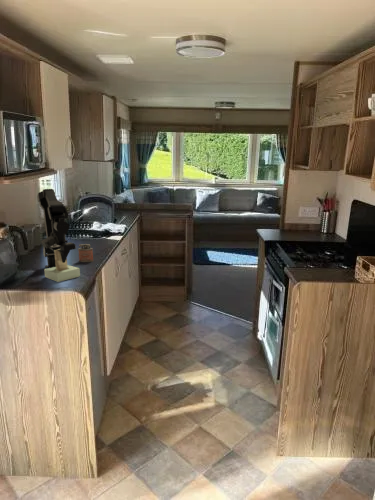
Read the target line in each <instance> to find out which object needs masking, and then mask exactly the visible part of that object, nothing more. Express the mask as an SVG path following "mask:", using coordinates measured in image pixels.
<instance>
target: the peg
mask: <svg viewBox="0 0 375 500" xmlns="http://www.w3.org/2000/svg"><path fill="white" fill-rule="evenodd" d="M58 250H59V249H57V250H54V253H55V264H56V270H58V271H62V270H66V269H68V266H67V265H68V257H67V258H66V261H65V263H63V262H62V258H61V253H60V252H59V251H58Z"/></svg>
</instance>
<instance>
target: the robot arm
mask: <svg viewBox="0 0 375 500" xmlns="http://www.w3.org/2000/svg"><path fill="white" fill-rule="evenodd" d="M37 203H38V205H39V207H40V209H42V211H43V217H44V227H45V233H46V238H44V239H42V240H41V241H40V243H41V244H42V246H43V251H42V252H43V253H42V254H43V257H44V258H46V261H47V265H44V267H46V268H47V269H48V268H52V267H56V264H55V253H54V250H57V249H59V250H58V251H59V252H60V253H61V258H62V262H63V263H65V261H66V258H67V259H68V257H69V256H68V255H69V254H70V251H71V250H72V251H73V250H76V249H77V247H76V244H75V243H73V242H70V241H69V242H68V239H66V235H67V234H68V232H69V230H70V225H69V223H68V222H67V221H65V219H69V212H68V210H67V207H66V206H65V205H64V203H63V202H61V201H59V200H58V198H57V196H56V192H55V189H53V188H44V189H42V190H41V191H40V192H38V193H37Z"/></svg>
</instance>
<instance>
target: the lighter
mask: <svg viewBox="0 0 375 500" xmlns="http://www.w3.org/2000/svg"><path fill="white" fill-rule="evenodd" d="M78 246H79V247H80V248H77V250H78V262H79V263H92V262H94V255H93V247H91V244H87V243H85V244H84V243H83V244H82V243H81V244H79V245H78Z"/></svg>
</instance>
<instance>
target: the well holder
mask: <svg viewBox="0 0 375 500" xmlns="http://www.w3.org/2000/svg"><path fill="white" fill-rule="evenodd" d="M67 266H68V269H66V270H62V271H58V270H56V267H52V268H48V267H47V268H44V277H45V278H47V279H49V280H52V281H55V282H57V283H59V282H63V281H67V280H72V279H75V278H78V277H81V271H80V270H81V269H80V268H81V267H80V268H79V267H75V266H72V265H69V264H67Z"/></svg>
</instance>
